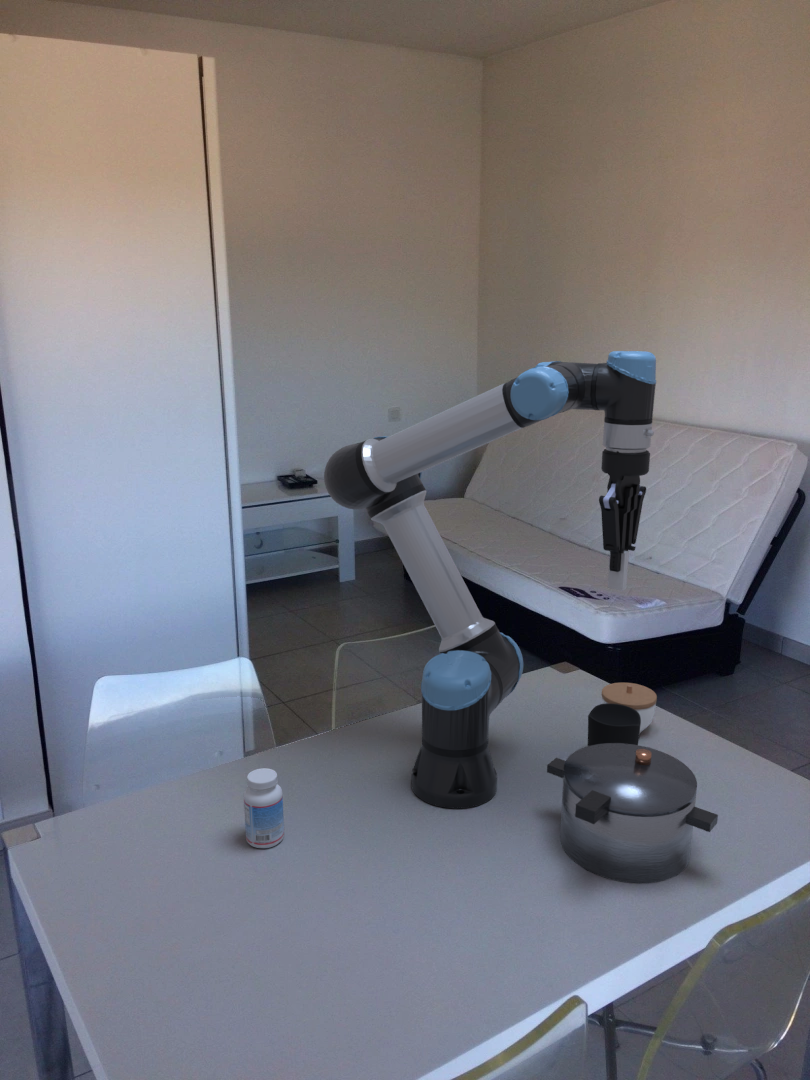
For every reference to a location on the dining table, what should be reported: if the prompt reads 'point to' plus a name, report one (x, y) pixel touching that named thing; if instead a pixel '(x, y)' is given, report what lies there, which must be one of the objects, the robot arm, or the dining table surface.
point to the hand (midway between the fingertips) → (616, 588)
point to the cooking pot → (629, 839)
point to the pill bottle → (263, 809)
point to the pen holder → (613, 724)
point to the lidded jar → (632, 699)
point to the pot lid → (627, 781)
